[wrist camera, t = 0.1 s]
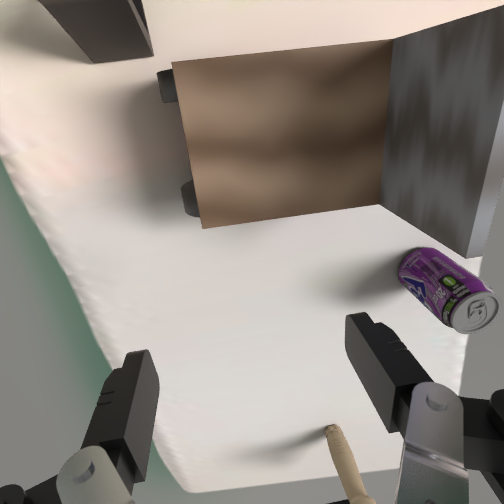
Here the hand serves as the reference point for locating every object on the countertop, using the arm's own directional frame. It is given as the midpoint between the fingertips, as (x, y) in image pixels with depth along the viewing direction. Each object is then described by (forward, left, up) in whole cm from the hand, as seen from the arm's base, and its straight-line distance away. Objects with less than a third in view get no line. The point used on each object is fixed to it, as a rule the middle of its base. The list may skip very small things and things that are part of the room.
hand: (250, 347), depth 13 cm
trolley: (-5, +7, -29) cm, 30 cm away
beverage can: (+17, +28, -29) cm, 44 cm away
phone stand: (-18, -8, -29) cm, 35 cm away
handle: (+53, +15, -29) cm, 63 cm away
